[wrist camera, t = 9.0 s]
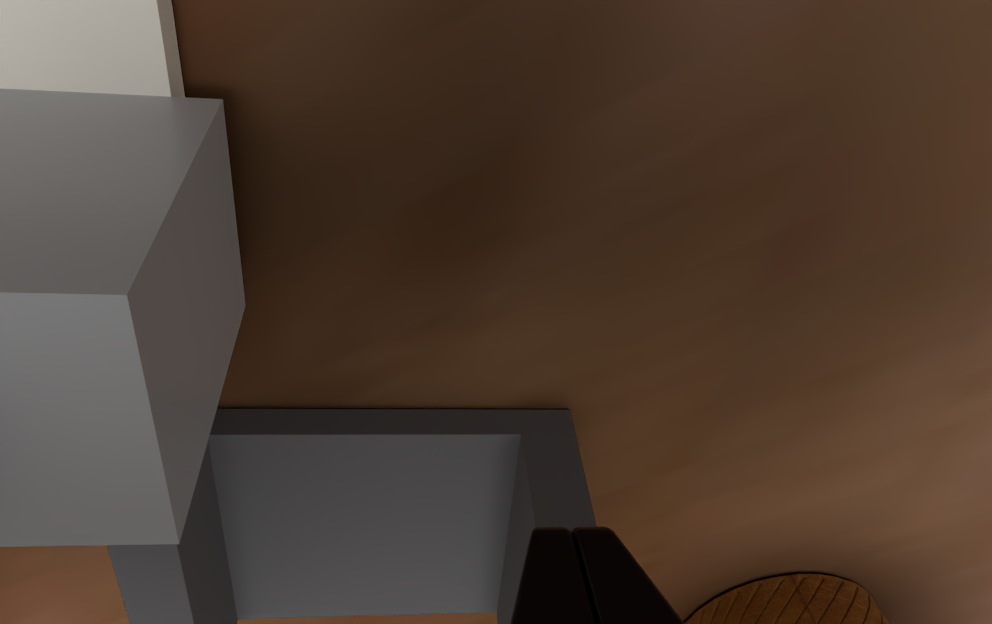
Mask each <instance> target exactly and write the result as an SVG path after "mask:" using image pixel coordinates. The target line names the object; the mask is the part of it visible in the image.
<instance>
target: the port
mask: <svg viewBox="0 0 992 624" xmlns="http://www.w3.org/2000/svg"><path fill="white" fill-rule="evenodd" d="M0 88H1V89H22V90H43V91H64V92H84V93H105V94H126V95H147V96H167V97H185V93H184V86H183V79H182V72H181V65H180V58H179V51H178V43H177V36H176V29H175V22H174V15H173V8H172V1H171V0H0Z"/></svg>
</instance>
